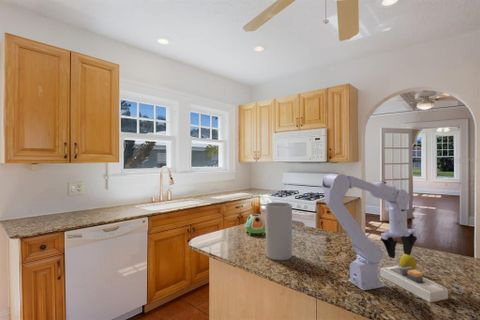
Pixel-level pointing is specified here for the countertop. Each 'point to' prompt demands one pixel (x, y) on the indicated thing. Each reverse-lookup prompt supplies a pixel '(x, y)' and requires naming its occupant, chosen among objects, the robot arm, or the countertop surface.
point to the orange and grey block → (415, 276)
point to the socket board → (416, 285)
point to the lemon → (407, 261)
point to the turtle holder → (255, 224)
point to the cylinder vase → (279, 231)
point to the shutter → (402, 270)
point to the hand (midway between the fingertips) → (399, 255)
